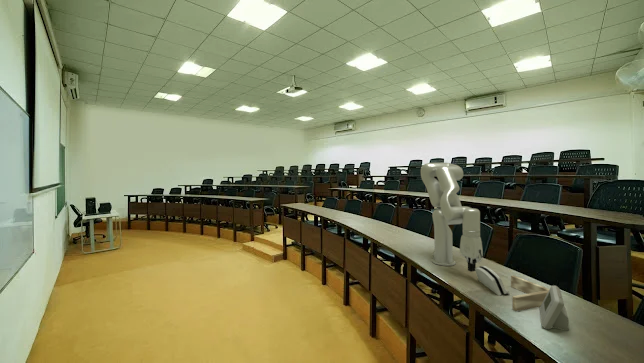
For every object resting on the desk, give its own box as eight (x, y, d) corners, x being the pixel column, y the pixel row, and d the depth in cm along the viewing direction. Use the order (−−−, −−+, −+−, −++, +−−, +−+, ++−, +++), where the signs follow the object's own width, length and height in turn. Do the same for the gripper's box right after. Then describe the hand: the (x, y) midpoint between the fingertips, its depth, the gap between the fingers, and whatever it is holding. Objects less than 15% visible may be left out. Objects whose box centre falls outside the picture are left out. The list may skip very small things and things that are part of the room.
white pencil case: (511, 295, 115) (502, 273, 115) (500, 299, 115) (491, 277, 115) (488, 280, 132) (481, 260, 132) (479, 283, 132) (472, 264, 132)
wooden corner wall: (478, 291, 119) (478, 280, 119) (514, 286, 124) (514, 275, 124) (516, 311, 102) (516, 297, 102) (556, 303, 107) (556, 291, 107)
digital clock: (541, 309, 104) (541, 281, 103) (573, 318, 97) (573, 288, 97) (530, 325, 93) (530, 294, 93) (566, 337, 86) (566, 303, 86)
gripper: (453, 231, 140) (454, 266, 140) (477, 237, 126) (477, 277, 126) (466, 230, 142) (466, 265, 142) (490, 236, 128) (490, 275, 128)
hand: (471, 270), depth 134 cm, fingers closed
